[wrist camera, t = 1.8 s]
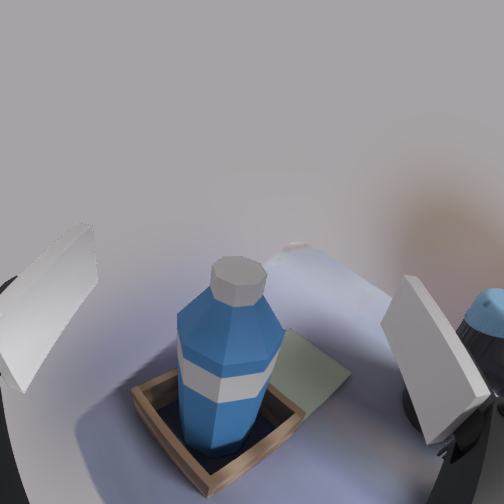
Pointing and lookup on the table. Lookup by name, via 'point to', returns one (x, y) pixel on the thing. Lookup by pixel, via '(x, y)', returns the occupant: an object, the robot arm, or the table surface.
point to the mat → (306, 373)
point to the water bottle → (225, 357)
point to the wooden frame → (159, 395)
